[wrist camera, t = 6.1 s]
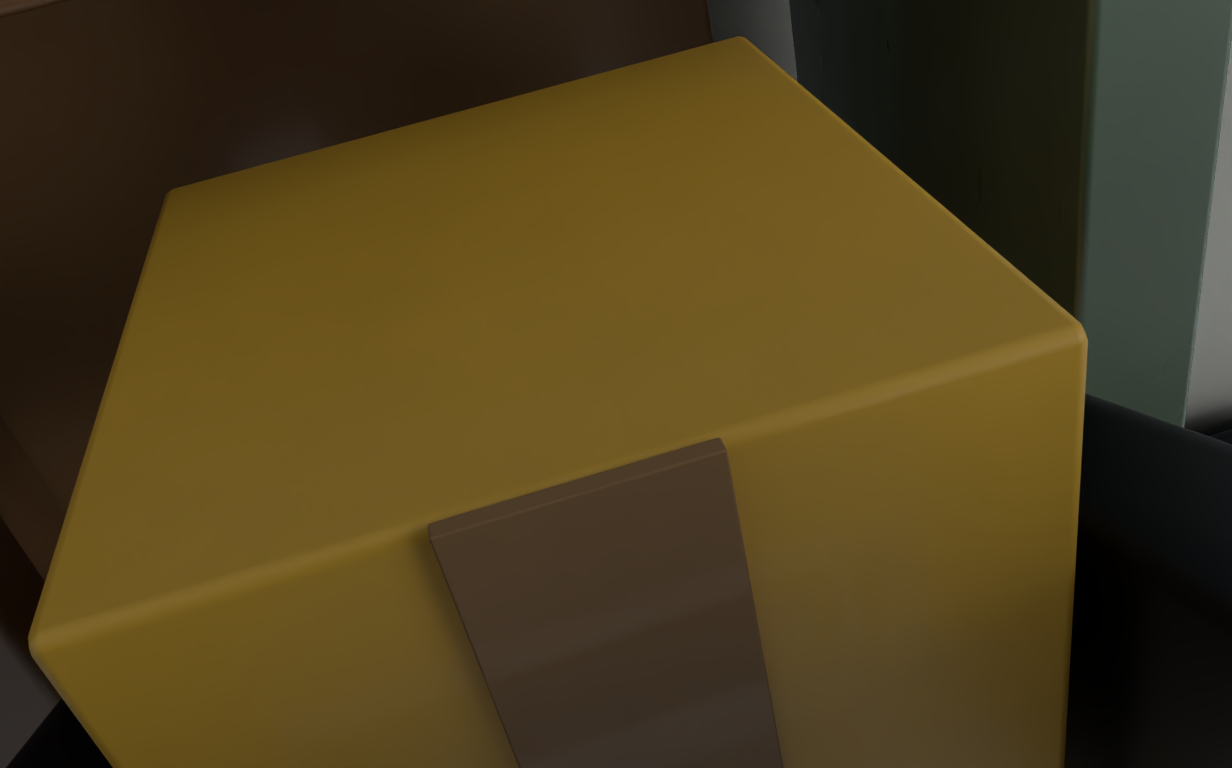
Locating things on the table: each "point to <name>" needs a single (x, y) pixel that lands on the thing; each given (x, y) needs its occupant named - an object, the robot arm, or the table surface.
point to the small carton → (578, 455)
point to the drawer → (566, 51)
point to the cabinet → (19, 650)
